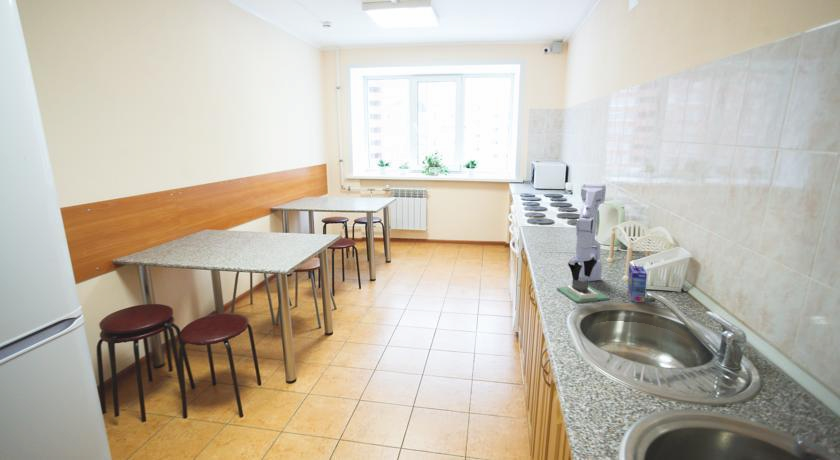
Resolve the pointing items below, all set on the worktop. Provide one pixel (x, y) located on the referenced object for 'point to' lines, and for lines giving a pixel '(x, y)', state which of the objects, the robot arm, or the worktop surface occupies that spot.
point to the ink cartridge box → (637, 283)
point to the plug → (580, 285)
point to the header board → (581, 297)
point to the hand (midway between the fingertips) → (581, 277)
